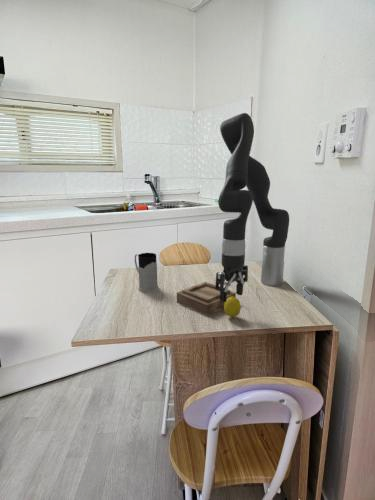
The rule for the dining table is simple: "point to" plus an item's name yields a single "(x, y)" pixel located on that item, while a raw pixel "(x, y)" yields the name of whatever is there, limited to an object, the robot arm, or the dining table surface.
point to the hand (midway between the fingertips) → (231, 297)
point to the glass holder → (147, 272)
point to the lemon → (232, 306)
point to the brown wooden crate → (203, 298)
